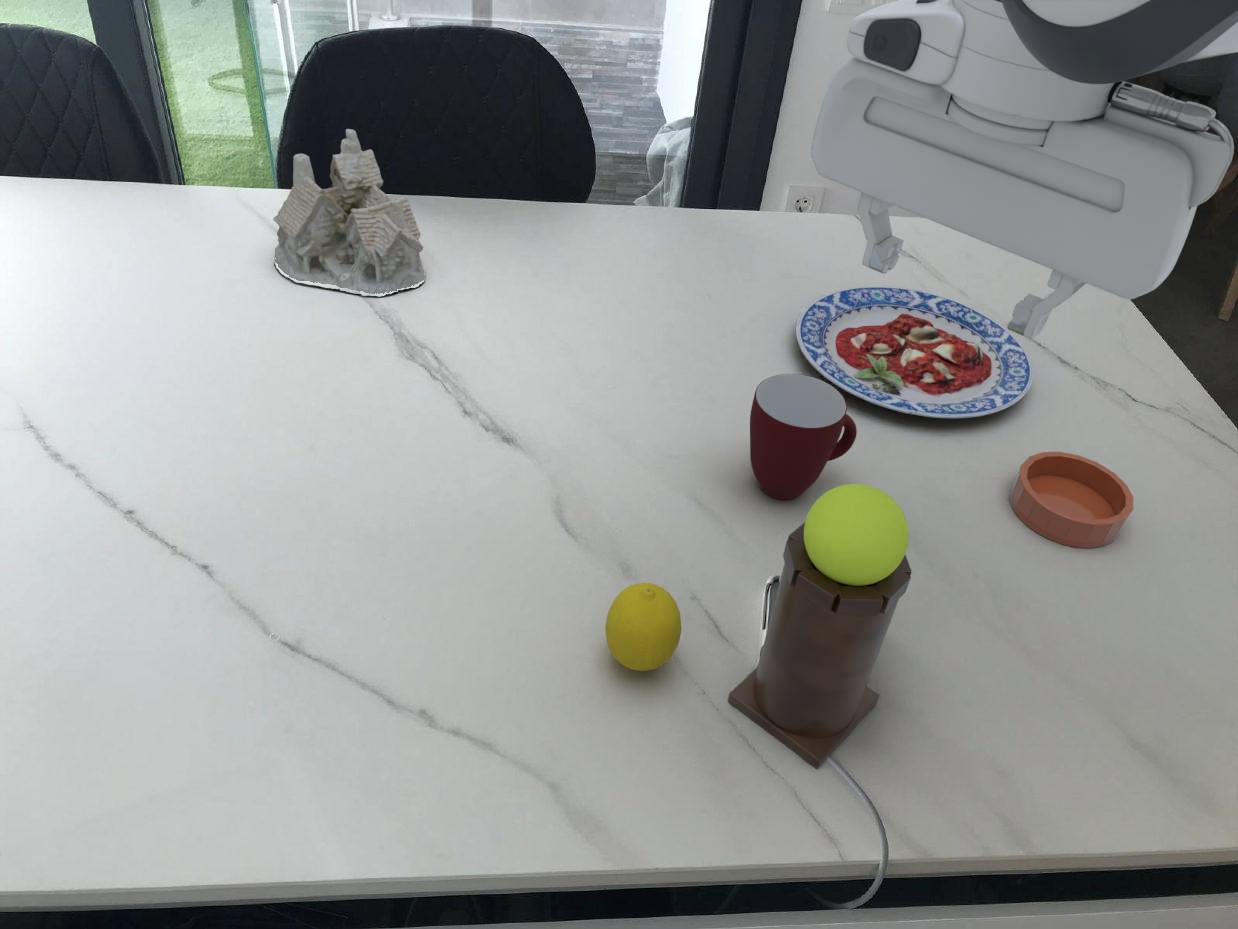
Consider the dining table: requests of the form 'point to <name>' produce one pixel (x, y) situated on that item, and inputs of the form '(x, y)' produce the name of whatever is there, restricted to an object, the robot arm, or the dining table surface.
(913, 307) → the ceramic plate
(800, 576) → the brown toy castle tower
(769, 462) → the mug
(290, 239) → the ceramic cottage
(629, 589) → the lemon
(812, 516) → the tennis ball
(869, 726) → the dining table surface
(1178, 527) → the dining table surface
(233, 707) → the dining table surface
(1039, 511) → the terracotta dish
